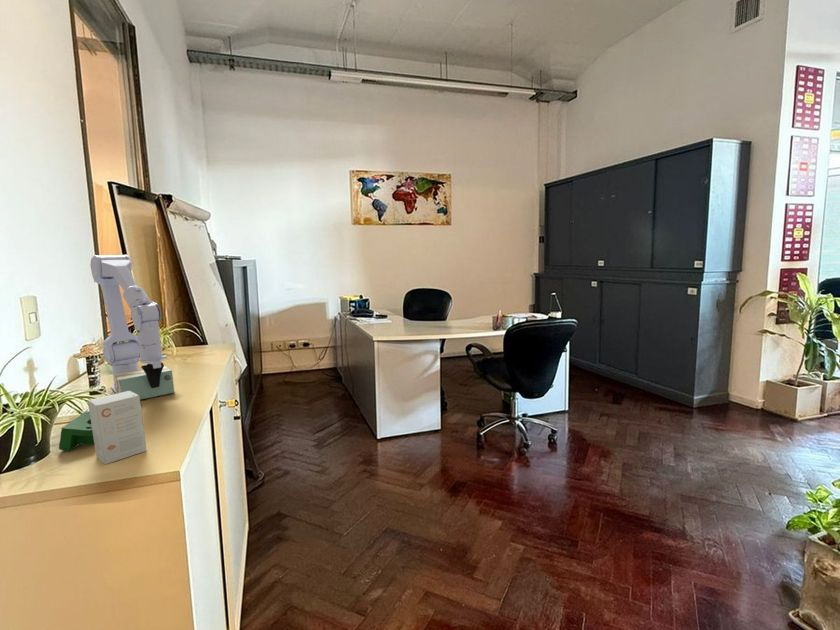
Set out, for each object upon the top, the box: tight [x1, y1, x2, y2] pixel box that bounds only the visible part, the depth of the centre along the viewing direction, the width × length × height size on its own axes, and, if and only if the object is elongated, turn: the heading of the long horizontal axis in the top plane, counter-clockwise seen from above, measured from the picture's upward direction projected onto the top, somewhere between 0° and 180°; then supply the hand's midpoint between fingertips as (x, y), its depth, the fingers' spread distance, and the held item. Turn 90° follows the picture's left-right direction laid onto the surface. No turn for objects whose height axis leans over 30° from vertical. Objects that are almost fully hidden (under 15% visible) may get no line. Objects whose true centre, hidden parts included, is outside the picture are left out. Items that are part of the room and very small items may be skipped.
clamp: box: [58, 410, 95, 452], centre depth 105 cm, size 12×6×9 cm, turn 9°
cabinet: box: [114, 365, 171, 394], centre depth 140 cm, size 10×14×7 cm
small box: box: [87, 391, 147, 465], centre depth 97 cm, size 8×6×13 cm
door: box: [120, 369, 175, 401], centre depth 136 cm, size 2×14×7 cm, turn 133°
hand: (155, 387), depth 136 cm, fingers closed
